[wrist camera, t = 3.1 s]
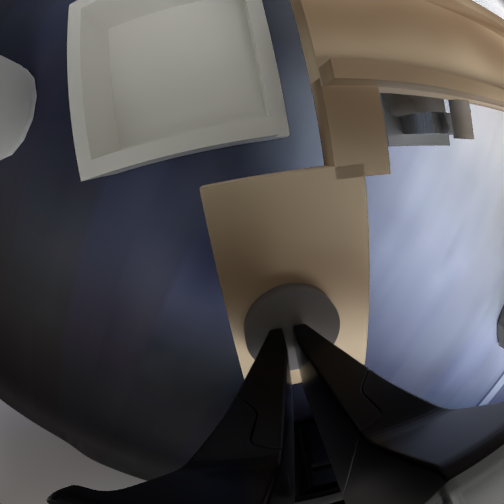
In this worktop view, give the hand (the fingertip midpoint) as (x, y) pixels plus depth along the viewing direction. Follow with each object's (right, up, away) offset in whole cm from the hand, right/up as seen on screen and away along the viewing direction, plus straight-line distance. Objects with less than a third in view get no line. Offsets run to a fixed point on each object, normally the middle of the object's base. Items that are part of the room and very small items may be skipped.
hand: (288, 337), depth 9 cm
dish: (-5, +12, +2) cm, 13 cm away
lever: (+9, +8, +1) cm, 12 cm away
